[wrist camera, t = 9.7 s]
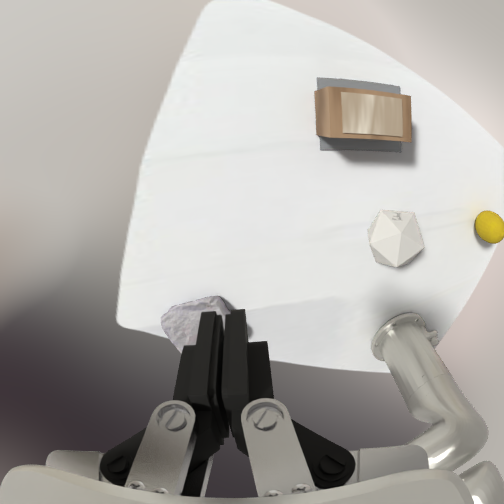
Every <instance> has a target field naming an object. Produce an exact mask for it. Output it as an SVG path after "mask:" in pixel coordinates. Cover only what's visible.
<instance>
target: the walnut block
mask: <svg viewBox="0 0 504 504" xmlns="http://www.w3.org/2000/svg"><path fill="white" fill-rule="evenodd" d="M314 92H315V110H316V133H317V135H319V136H324V137H329V138H359V139H378V140H391V141H403V142H411V96H407V95H402V94H395V93H389V92H382V91H374V90H366V89H356V88H345V87H331V86H327V87H325V88H322V89H320V90H317V91H314Z"/></svg>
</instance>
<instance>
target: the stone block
mask: <svg viewBox="0 0 504 504" xmlns="http://www.w3.org/2000/svg"><path fill="white" fill-rule="evenodd" d="M207 311H216V313H217V315H220V314H221V315H222V319H223V326H224V330H225V315H226V314H231V311H230V310H228V309H227V307H226V305H225V303H224V301H223V300H222V299H221V298H220V297H219V296H210V297H205V298H202V299H198V300H196V301H190V302H187V303H183V304H180V305H175V306H172V307H171V308H170V309H169V311H168V312H167V313H166V314H164V315H163V316H162V317H161V326H162V329H163V330H164V332H165V333H166V335H167V336H168V338H169V339H170V340H171V342H172V343H173V344H174V345H175V346H176V347H177V349H178V350H179V351H180V353H181V354H182V350H183V347H184V345H196V340H197V334H198V328H199V322H200V316H201V312H207Z"/></svg>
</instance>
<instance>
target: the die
mask: <svg viewBox="0 0 504 504" xmlns="http://www.w3.org/2000/svg"><path fill="white" fill-rule="evenodd" d="M368 238H369V245H370V247H371V250H372V253H373V255H374V258H375V261H376V262H377V263H381V264H385V265H389V266H393V267H400V266H403V265H407V264H408V263H409V262H410V261H411V260H412V259H413V258H414V257H415V256H416V255H417V254H418V253H419V252H420V251H421V250H422V249H423V248H424V244H423V240H422V236H421V233H420V229H419V226H418V222H417V219H416V216H415V213H414V212H403V211H389V210H380V212H379V213H378V215H377V216H376V218H375V220H374V221H373V223H372V224H371V226H370V227H369V228H368Z"/></svg>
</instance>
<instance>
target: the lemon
mask: <svg viewBox="0 0 504 504" xmlns="http://www.w3.org/2000/svg"><path fill="white" fill-rule="evenodd" d="M475 227H476V231H477V233H478V235H479V236H480V237H481V238H482V239H483V240H484V241H486V242H488V243H493V244H496V243H498V242H500V241H501V240H502V239H503V238H504V221H503V220H502V218H501V217H500V216H499V215H498V214H496V213H494V212H492V211H483V212H481V213H480V214H479V215H478V216H477V218H476V222H475Z"/></svg>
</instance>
